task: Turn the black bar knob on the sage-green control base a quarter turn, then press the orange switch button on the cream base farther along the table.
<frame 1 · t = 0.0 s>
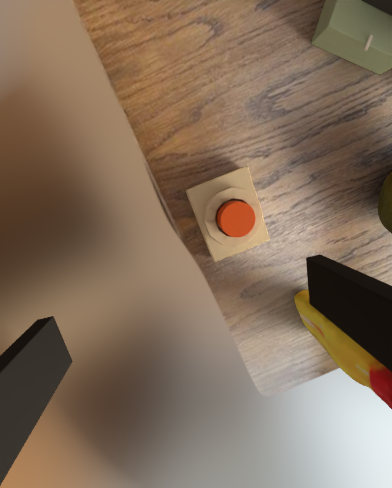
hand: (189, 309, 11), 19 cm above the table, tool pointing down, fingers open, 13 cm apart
bottle: (312, 308, 35), on the table
switch button: (235, 218, 25), point 5 cm above the table, slide at 0.1 cm
switch base: (226, 214, 30), on the table
dial base: (359, 22, 26), on the table
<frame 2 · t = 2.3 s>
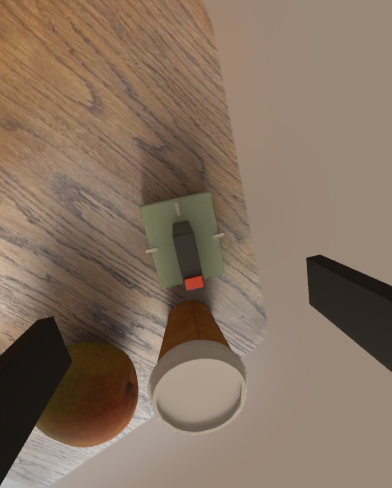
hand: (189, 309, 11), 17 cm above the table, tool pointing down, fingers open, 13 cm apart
disposable coffee cup: (190, 319, 31), on the table
dial knob: (186, 251, 21), point 7 cm above the table, hinge at 0.0°
fruit: (97, 359, 31), on the table
dial base: (183, 237, 28), on the table
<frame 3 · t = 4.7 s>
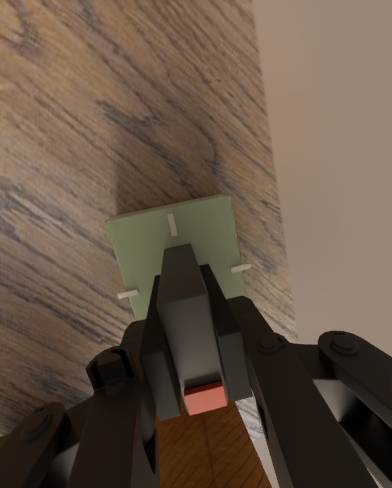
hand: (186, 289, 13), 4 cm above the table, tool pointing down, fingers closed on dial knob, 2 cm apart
disposable coffee cup: (192, 384, 21), on the table
dial knob: (189, 308, 11), point 7 cm above the table, hinge at 0.0°, touching gripper
dial base: (183, 265, 18), on the table
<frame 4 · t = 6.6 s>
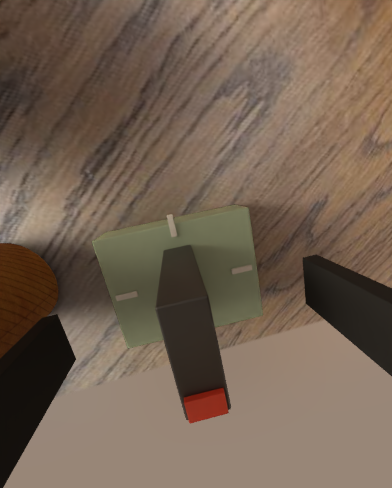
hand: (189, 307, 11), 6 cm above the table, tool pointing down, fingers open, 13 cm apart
disposable coffee cup: (18, 283, 16), on the table
dial knob: (189, 311, 11), point 7 cm above the table, hinge at 89.9°
dial base: (182, 266, 17), on the table
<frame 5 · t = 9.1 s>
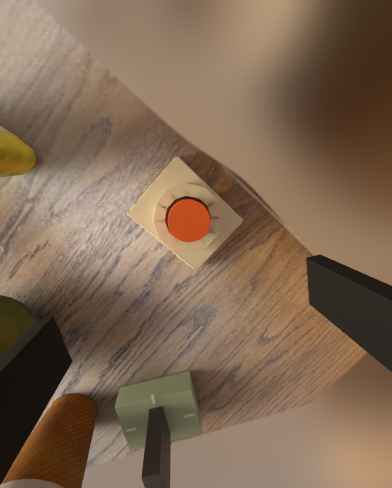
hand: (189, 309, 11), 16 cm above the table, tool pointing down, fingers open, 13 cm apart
switch button: (188, 220, 21), point 5 cm above the table, slide at 0.1 cm
disposable coffee cup: (74, 410, 31), on the table
dial knob: (158, 453, 25), point 7 cm above the table, hinge at 89.9°
switch base: (185, 215, 26), on the table
fruit: (15, 328, 27), on the table
dial base: (161, 400, 32), on the table
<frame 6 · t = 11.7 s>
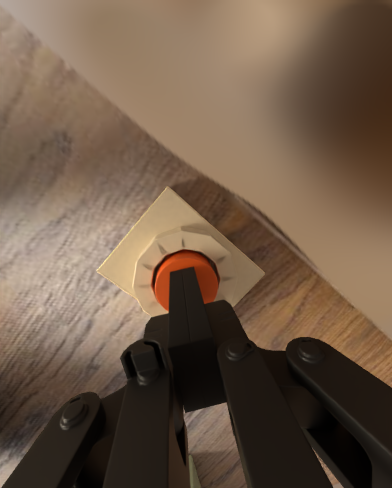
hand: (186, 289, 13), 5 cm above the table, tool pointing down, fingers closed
switch button: (186, 281, 15), point 4 cm above the table, slide at -0.7 cm, touching gripper
switch base: (183, 263, 18), on the table
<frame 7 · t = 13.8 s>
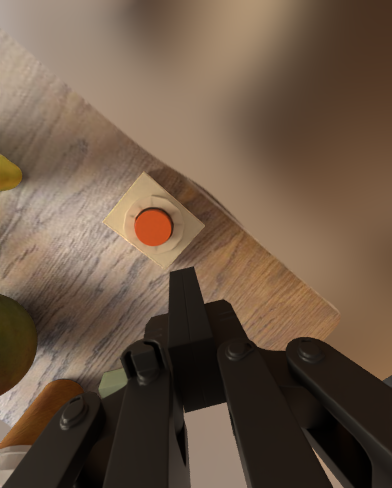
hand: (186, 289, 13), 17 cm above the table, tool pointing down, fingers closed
switch button: (153, 227, 25), point 5 cm above the table, slide at 0.1 cm
disposable coffee cup: (64, 393, 35), on the table
switch base: (156, 221, 29), on the table
fruit: (9, 322, 31), on the table
dial base: (141, 384, 36), on the table
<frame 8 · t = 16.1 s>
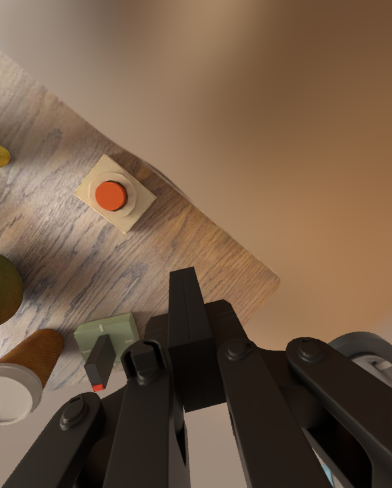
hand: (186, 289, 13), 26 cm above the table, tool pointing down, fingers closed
switch button: (111, 196, 32), point 5 cm above the table, slide at 0.1 cm
disposable coffee cup: (47, 342, 42), on the table
dial knob: (101, 361, 36), point 7 cm above the table, hinge at 89.9°
switch base: (118, 195, 37), on the table
fruit: (1, 278, 38), on the table
dial base: (112, 335, 43), on the table
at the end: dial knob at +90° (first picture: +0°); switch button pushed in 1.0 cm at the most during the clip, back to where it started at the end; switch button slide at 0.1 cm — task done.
